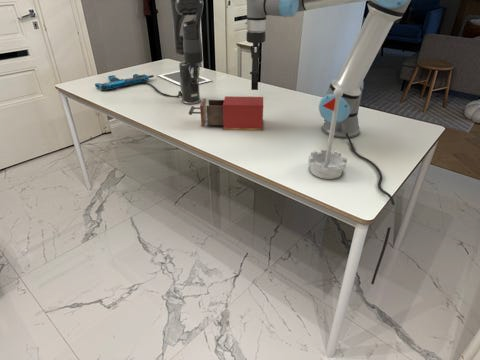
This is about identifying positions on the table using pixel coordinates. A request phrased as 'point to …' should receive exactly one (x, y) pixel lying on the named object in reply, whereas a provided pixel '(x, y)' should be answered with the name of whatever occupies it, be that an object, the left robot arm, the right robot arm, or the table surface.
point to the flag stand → (329, 148)
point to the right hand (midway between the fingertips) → (254, 84)
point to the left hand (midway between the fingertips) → (196, 91)
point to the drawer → (210, 112)
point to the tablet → (176, 78)
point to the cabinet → (243, 113)
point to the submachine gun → (122, 81)
